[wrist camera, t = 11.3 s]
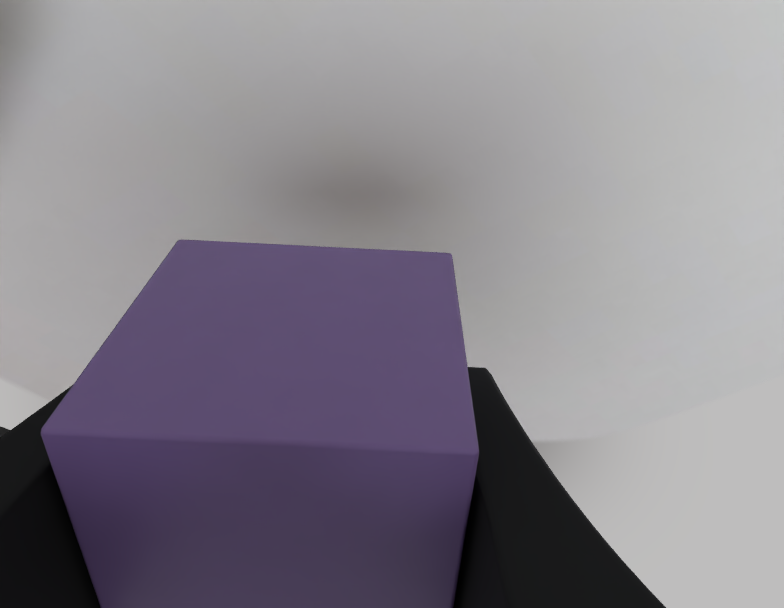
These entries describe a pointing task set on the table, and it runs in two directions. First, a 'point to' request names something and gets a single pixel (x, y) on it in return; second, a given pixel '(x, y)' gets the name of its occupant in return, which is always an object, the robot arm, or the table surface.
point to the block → (275, 433)
